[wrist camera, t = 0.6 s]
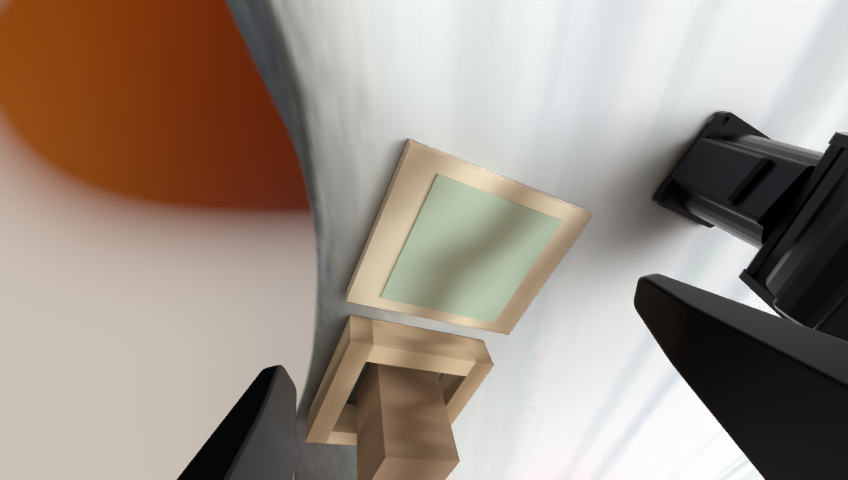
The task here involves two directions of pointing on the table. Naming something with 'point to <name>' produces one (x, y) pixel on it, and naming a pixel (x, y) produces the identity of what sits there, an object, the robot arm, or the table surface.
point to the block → (403, 426)
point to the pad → (461, 243)
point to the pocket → (396, 347)
